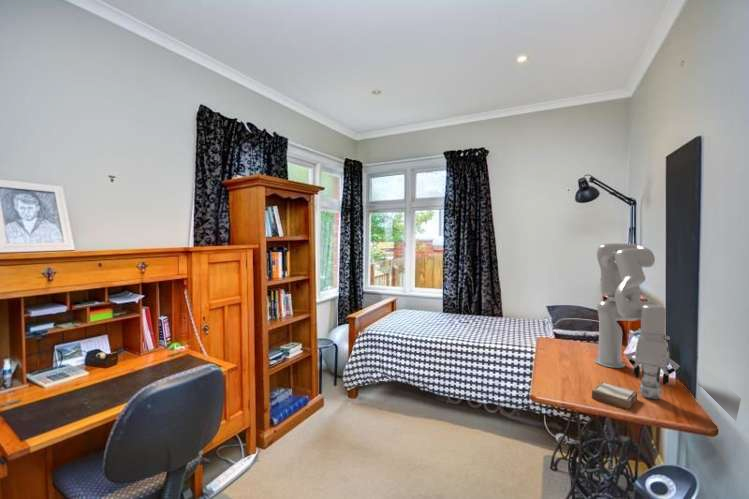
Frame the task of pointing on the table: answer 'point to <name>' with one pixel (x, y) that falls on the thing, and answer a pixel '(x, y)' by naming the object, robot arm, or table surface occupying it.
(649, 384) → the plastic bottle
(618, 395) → the plinth
